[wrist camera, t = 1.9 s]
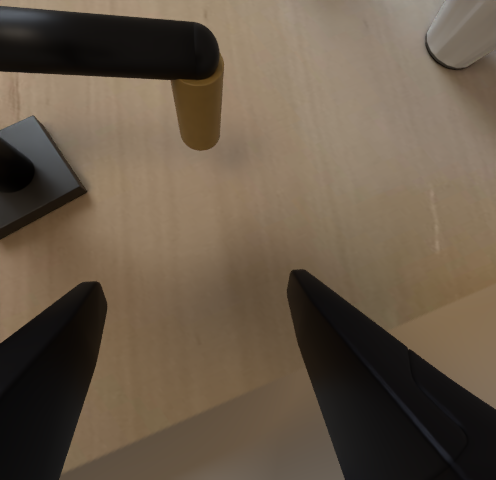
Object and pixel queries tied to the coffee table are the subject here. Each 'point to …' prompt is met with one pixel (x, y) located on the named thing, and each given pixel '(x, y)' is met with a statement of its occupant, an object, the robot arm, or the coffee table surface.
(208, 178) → the coffee table surface
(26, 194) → the tap column
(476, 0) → the cup
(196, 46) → the spout
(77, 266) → the coffee table surface
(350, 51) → the coffee table surface
